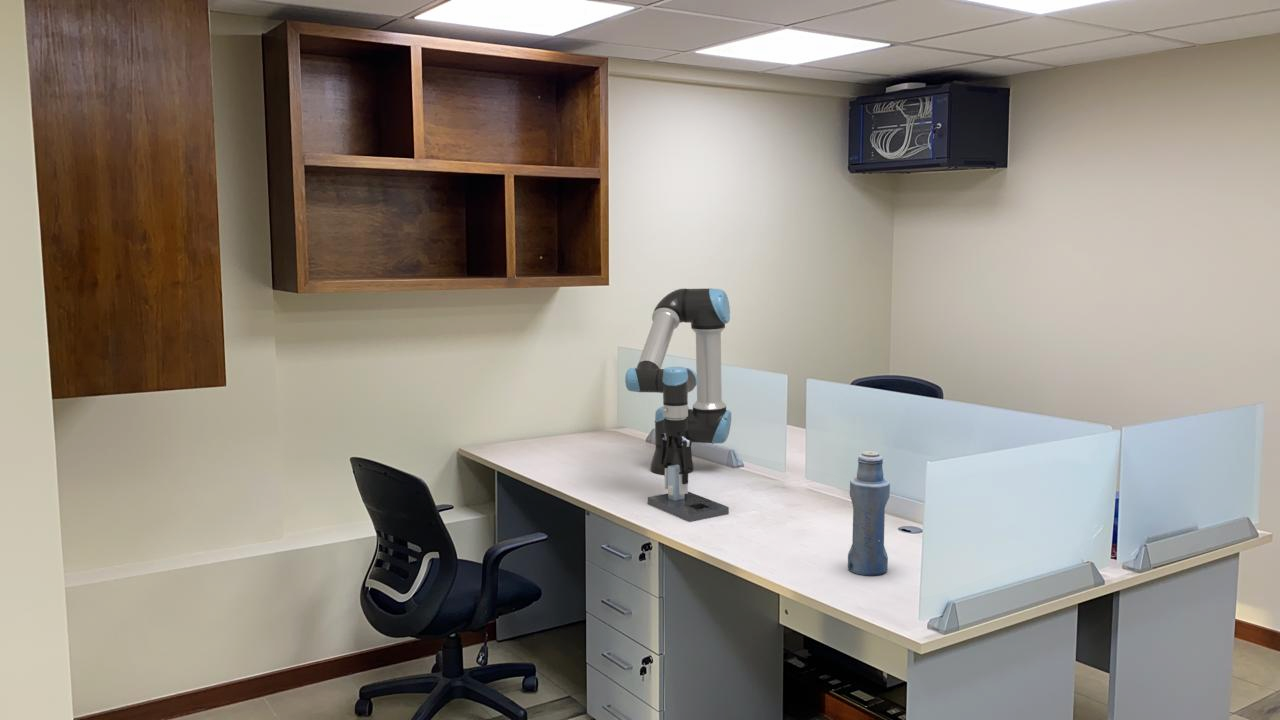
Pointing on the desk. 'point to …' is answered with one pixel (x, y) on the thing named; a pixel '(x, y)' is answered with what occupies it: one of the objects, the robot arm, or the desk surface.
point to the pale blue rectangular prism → (674, 483)
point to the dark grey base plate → (689, 507)
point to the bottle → (868, 516)
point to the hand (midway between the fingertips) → (676, 490)
